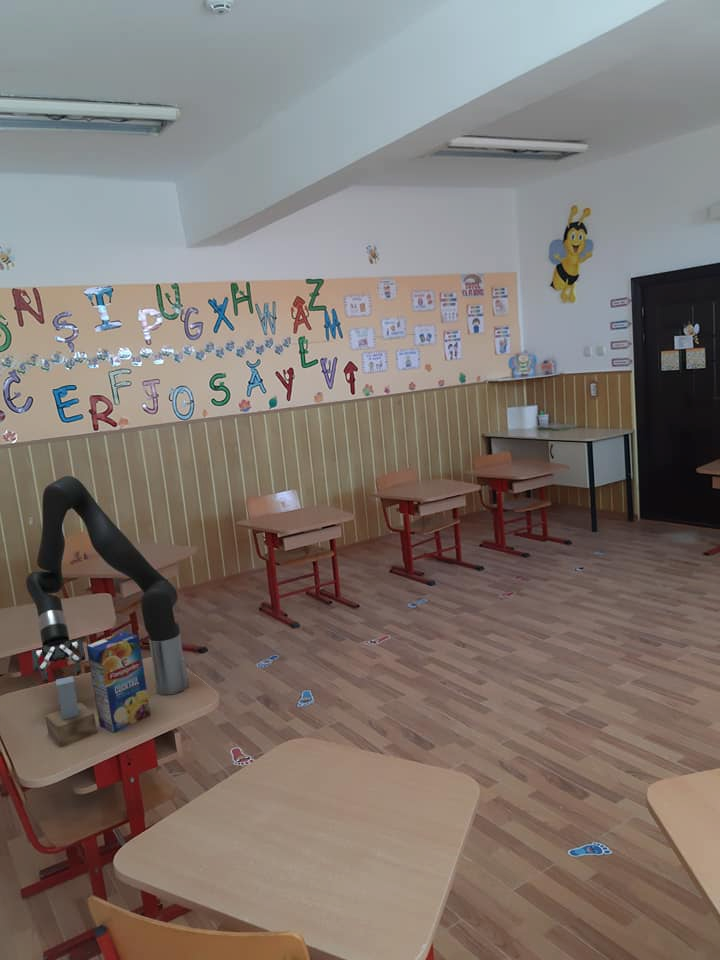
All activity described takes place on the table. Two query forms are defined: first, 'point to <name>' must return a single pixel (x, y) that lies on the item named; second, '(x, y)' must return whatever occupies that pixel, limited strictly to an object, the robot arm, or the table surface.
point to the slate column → (67, 697)
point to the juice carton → (118, 681)
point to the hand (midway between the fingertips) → (62, 678)
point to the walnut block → (71, 726)
